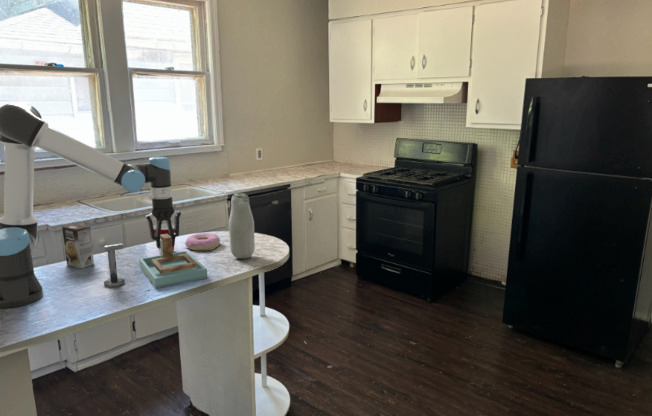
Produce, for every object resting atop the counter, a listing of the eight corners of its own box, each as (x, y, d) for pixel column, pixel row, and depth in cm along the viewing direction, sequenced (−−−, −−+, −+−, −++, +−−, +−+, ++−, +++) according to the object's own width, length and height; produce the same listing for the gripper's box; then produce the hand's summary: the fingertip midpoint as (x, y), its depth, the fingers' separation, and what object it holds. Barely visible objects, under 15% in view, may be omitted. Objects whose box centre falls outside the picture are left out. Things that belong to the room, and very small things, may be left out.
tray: (155, 288, 171) (154, 278, 170) (139, 267, 191) (139, 258, 190) (207, 278, 181) (206, 268, 180) (187, 259, 201) (186, 250, 200)
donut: (196, 254, 208) (195, 243, 207) (179, 246, 218) (178, 236, 217) (227, 247, 218) (226, 236, 217) (209, 240, 229) (208, 230, 228)
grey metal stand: (105, 289, 170) (101, 249, 167) (102, 282, 176) (98, 244, 172) (128, 284, 174) (124, 246, 171) (124, 278, 180) (120, 241, 176)
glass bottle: (258, 255, 207) (256, 191, 201) (248, 262, 197) (246, 196, 191) (236, 253, 209) (234, 190, 203) (226, 260, 200) (223, 195, 193)
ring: (160, 273, 173) (158, 250, 171) (147, 258, 189) (145, 236, 187) (197, 266, 180) (196, 244, 178) (182, 252, 196) (180, 231, 194)
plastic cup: (183, 248, 215) (182, 222, 213) (173, 256, 205) (171, 229, 202) (160, 247, 216) (158, 221, 214) (149, 255, 206) (147, 228, 203)
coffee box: (65, 265, 194) (61, 226, 190) (80, 260, 199) (76, 222, 195) (80, 268, 189) (76, 229, 186) (95, 264, 195) (90, 225, 191)
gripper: (142, 201, 178) (147, 261, 184) (185, 196, 187) (189, 253, 192) (138, 197, 184) (143, 255, 190) (179, 193, 193) (183, 248, 198)
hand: (166, 254), depth 191 cm, fingers closed on ring, 3 cm apart
